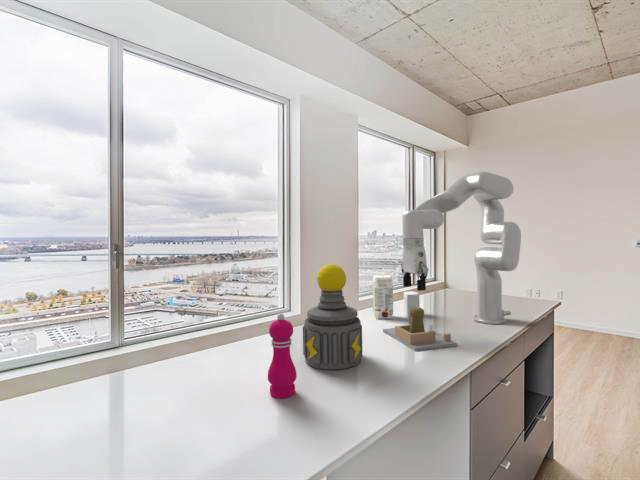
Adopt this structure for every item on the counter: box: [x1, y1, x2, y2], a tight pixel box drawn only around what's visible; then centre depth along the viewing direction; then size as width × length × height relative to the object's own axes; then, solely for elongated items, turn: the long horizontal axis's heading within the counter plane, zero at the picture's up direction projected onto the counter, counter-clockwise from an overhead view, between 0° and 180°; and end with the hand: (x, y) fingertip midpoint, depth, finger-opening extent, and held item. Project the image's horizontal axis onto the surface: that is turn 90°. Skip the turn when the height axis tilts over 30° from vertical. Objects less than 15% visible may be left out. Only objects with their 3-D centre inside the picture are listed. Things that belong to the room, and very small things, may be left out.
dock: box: [382, 324, 457, 352], centre depth 134 cm, size 16×24×4 cm, turn 16°
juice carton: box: [372, 274, 394, 320], centre depth 166 cm, size 8×9×19 cm
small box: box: [403, 291, 421, 318], centre depth 169 cm, size 8×6×10 cm
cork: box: [409, 307, 425, 333], centre depth 131 cm, size 6×6×11 cm
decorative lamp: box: [302, 263, 363, 371], centre depth 113 cm, size 19×19×30 cm
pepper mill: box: [267, 313, 297, 399], centre depth 91 cm, size 7×7×20 cm
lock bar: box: [423, 320, 434, 332], centre depth 142 cm, size 2×10×4 cm, turn 15°
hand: (414, 288), depth 138 cm, fingers open, 9 cm apart
